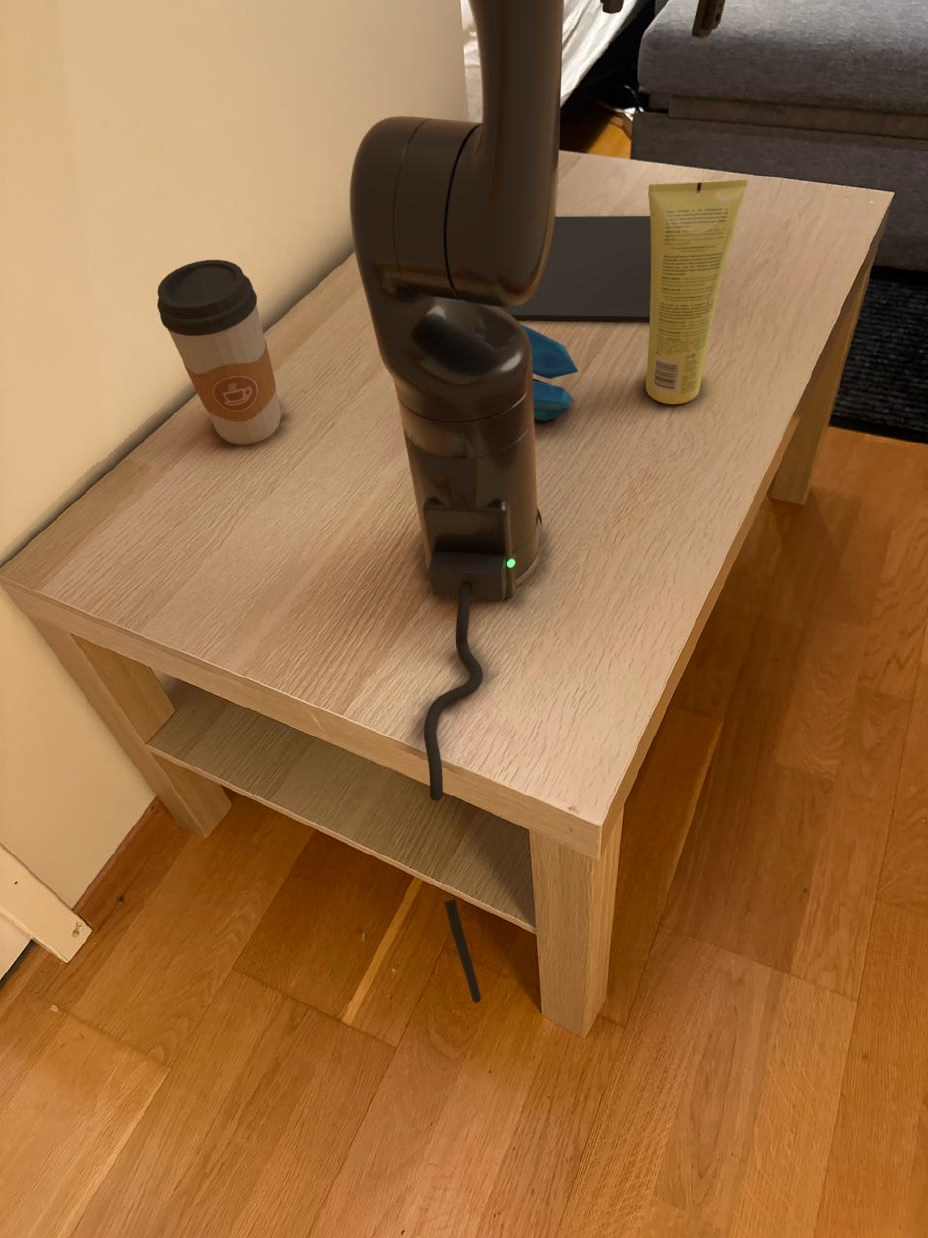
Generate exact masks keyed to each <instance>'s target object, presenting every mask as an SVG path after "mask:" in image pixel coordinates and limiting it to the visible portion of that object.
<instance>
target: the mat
mask: <svg viewBox="0 0 928 1238" xmlns="http://www.w3.org/2000/svg"><path fill="white" fill-rule="evenodd" d="M650 300H651V221H650V215H622V216H621V215H620V216H619V215H614V216H613V215H610V216H608V215H605V216H604V215H603V216H600V215H598V216H593V215H592V216H555V223H554V231H553V238H552V244H551V249H550V253H549V257H548V261H547V265H546V269H545V272H544V275H543V278H542V280H541V282H540V284H539V286H538V288H537V290H536V292H535V293H534V294H533V296H532V297H531V298H530V299H529V300H528V301H527V302H525V303H524V304H522V305H520V306H517V307H498V308H500V309H502V310H503V311H505V312H507V313H508V314H510V315H511V316H512V317H514V318H515V319H516V320H517V321H574V322H575V321H577V322H578V321H579V322H581V321H582V322H583V321H585V322H587V321H588V322H650Z"/></svg>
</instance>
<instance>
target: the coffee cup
mask: <svg viewBox="0 0 928 1238" xmlns="http://www.w3.org/2000/svg"><path fill="white" fill-rule="evenodd" d="M156 292H157V296H158V298H157V305H156V306H157V309H158V313H159V315H160V317H159V318H160V321H161V323H162V326H164V327H165V329H166V330H167V331H168V333H169V335H170V338H171V339H172V341H173V343H174V345H175V347H176V350H177V352H178V354H179V356H180V358H181V360H182V363H183V366H184V368H185V370H186V373H187V374H188V376H189V378H190V380H191V382H192V385H193V387H194V389H195V391H196V393H197V396H198V397H199V399H200V401H201V403H202V405H203V408H204V409H205V410H206V412H207V414H208V416H209V418H210V420H211V423H212V424H213V427H214V429H215V431H216V433H217V434H218V435H219V436H220V437H221V438H223V439H224V440H225V441H227V442H229V443H231V444H235V445H251V444H256V443H258V442H259V443H260V442H262V441H264V440H266V439H268V438H269V437H270V436H271V435H273V434H274V433H275V432H276V431H277V429H278V428H279V425H280V420H281V418H282V410H281V406H280V402H279V401H280V400H279V397H278V393H277V389H276V388H277V385H276V380H275V375H274V371H273V367H272V363H271V357H270V353H269V349H268V344H267V341H266V339H265V335H264V332H263V328H262V327H263V326H262V323H261V318H260V314H259V309H258V306H257V304H258V296H257V294H256V291H255V289H254V287H253V284H252V282H251V280H250V278H249V277H248V276H247V275H245V274H244V272H243V269H242V268H241V267H240V266H239V265H237V264H236V263H234V262H231V261H229V260H223V259H205V260H199V261H195V262H191V263H188V264H185V265H182V266H181V267H178V268H176V269H174V270H173V271H172V272H170V273H168V274H167V275H166V276H165V277H164V278H163V279H162V280H161V281H160V283H159V285H158V286H157V291H156Z"/></svg>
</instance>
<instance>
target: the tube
mask: <svg viewBox="0 0 928 1238" xmlns="http://www.w3.org/2000/svg"><path fill="white" fill-rule="evenodd" d="M747 188H748V178H736V179H734V178H733V179H721V180H720V179H719V180H705V181H704V180H702V181H681V182H659V183H650V184H648V192H647V195H648V207H649V216H650V221H651V300H650V321H649V326H648V327H649V328H648V329H649V331H648V332H649V333H648V347H647V362H646V363H647V365H646V378H645V379H646V380H645V389H646V393H647V395H648V396H649V397H650V398H651V399H653V400H655V401H656V402H659V403H662V404H667V405H678V404H679V405H680V404H685V403H688V402H690V401H692V400H694V399H695V398H696V397H697V396H698V394H699V393H700V387H701V382H702V377H703V371H704V367H705V363H706V362H705V361H706V358H707V357H706V356H707V352H708V346H709V342H710V338H711V337H710V336H711V331H712V326H713V322H714V317H715V312H716V308H717V302H718V298H719V294H720V289H721V285H722V284H721V283H722V280H723V277H724V272H725V268H726V263H727V260H728V256H729V251H730V247H731V243H732V239H733V235H734V231H735V228H736V224H737V220H738V216H739V214H740V213H739V212H740V209H741V206H742V203H743V200H744V197H745V194H746V191H747Z"/></svg>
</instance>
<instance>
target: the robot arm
mask: <svg viewBox="0 0 928 1238" xmlns="http://www.w3.org/2000/svg"><path fill="white" fill-rule="evenodd" d="M467 2H468V5H469V8H470V11H471V16H472V20H473V24H474V29H475V36H476V42H477V49H478V51H477V52H478V57H479V58H478V59H479V68H480V82H481V83H480V84H481V122H477V121H466V120H456V119H455V120H454V119H445V118H429V117H423V116H411V115H409V116H408V115H396V116H389V117H385V118H384V119H380V120H379V121H377V122H375V124H373V125H372V126H371V127H370V128H369V129H368V131H367V132H366V133H365V134H364V136H363V137H362V140H361V141H360V143H359V146H358V148H357V150H356V153H355V156H354V160H353V164H352V168H351V175H350V181H349V182H350V183H349V200H348V201H349V222H350V223H349V224H350V231H351V237H352V243H353V248H354V250H353V251H354V254H355V258H356V264H357V267H358V271H359V276H360V279H361V283H362V287H363V291H364V293H365V294H364V295H365V299H366V303H367V305H368V306H367V307H368V311H369V314H370V318H371V322H372V326H373V330H374V334H375V339H376V342H377V347H378V351H379V355H380V357H381V360H382V362H383V365H384V367H385V369H386V370H387V372H388V373H389V376H391V378H393V382H394V386H395V392H396V397H397V401H398V409H399V412H400V420H401V425H402V430H403V434H404V435H403V437H404V442H405V447H406V453H407V458H408V462H409V469H410V476H411V480H412V487H413V492H414V497H415V503H416V509H417V514H418V520H419V526H420V531H421V535H422V542H423V546H424V547H423V549H424V550H423V551H424V559H425V565H426V567H427V570H428V576H429V582H430V586H431V594H432V596H434V597H447V598H458V599H457V601H458V602H457V609H456V619H455V621H456V622H455V637H454V639H455V647H456V651H457V654H458V656H459V659H460V661H461V662H462V663H463V665H464V666H465V667H466V669H467V670H468V671H469V673H470V674H469V678H468V680H466V682H465V683H464V684H461V685H459V686H457V687H455V688H453V689H450V690H448V691H446V692H444V693H442V694H441V695H439V696H438V697H436V699H435V700H433V702H432V703H431V705H430V707H429V709H428V711H427V713H426V715H425V719H424V723H423V739H424V745H425V750H426V757H427V762H428V771H429V797H430V798H431V800H432V801H435V802H438V801H440V800H441V799H442V797H443V796H444V780H443V779H444V778H443V777H444V776H443V766H442V765H443V764H442V759H441V751H440V747H439V741H438V732H437V729H438V723H439V720H440V717H441V715H442V713H443V711H444V710H445V709H446V707H448V706H449V705H451V704H453V703H456V702H458V701H460V700H462V699H464V698H466V697H468V696H470V695H472V694H473V693H475V692H476V691H477V690H478V689H479V687H481V683H482V681H483V677H484V676H483V675H484V674H483V668H482V667H481V664H480V663H479V661H478V660H477V659H476V657H475V656H474V655H473V654H472V651H471V650H470V646H469V640H468V636H469V621H470V612H471V611H470V610H471V602H472V599H477V600H478V599H479V600H493V601H504V600H505V599H506V598H507V599H512V598H513V597H514V596H515V591H516V588H517V587H519V585H521V584H522V583H524V582H525V581H526V580H527V579H529V577H531V575H532V574H533V573H534V571H535V570H536V568H537V566H538V564H539V561H540V558H541V539H540V534H539V524H540V526H541V527H543V518H542V515H541V514H542V513H541V512H540V509H539V507H538V485H537V484H538V483H537V458H536V433H535V432H536V429H535V419H534V394H533V378H534V374H533V360H532V348H531V343H530V340H529V337H528V335H527V333H526V331H525V329H524V328H523V327H522V325H523V324H522V323H521V322H519V320H516V319H515V318H514V317H512V316H511V315H510V314H508V313H507V312H505V311H503V310H502V309H500V308H498V307H517V306H520V305H522V304H524V303H525V302H527V301H528V300H529V299H530V298H531V297H532V296H533V294H534V293H535V292H536V290H537V288H538V286H539V284H540V282H541V280H542V278H543V275H544V272H545V269H546V265H547V261H548V257H549V253H550V249H551V244H552V238H553V231H554V223H555V217H556V213H557V203H558V185H559V183H558V182H559V164H560V136H561V135H560V131H561V130H560V129H561V104H562V103H561V102H562V101H561V100H562V99H561V98H562V68H563V67H562V66H563V34H564V11H565V0H467ZM599 2H600V4H602V6H601V10H602V12H603V13H605V14H609V15H614V14H618V13H619V14H620V13H621V11H622V10H623V9H624V8H623V7H624V3H625V0H599ZM725 4H726V0H698V2H697V6H696V11H695V15H694V20H693V25H692V29H691V36H692V37H694V38H698V39H704V38H707V37H709V36H710V35H711V34H712V32H713V30H717V29H718V27H719V25H720V23H721V21H722V16H723V13H724V8H725ZM521 324H522V325H521ZM443 904H444V907H445V912H446V915H447V919H448V923H449V926H450V927H449V928H450V929H451V933H452V937H453V940H454V943H455V947H456V950H457V952H458V956H459V959H460V962H461V966H462V969H463V972H464V975H465V979H466V981H467V985H468V989H469V992H470V997H471V1001H472V1002H473V1003H475V1004H477V1003H480V1002H481V1000H482V995H481V992H480V987H479V983H478V980H477V975H476V972H475V967H474V965H473V961H472V958H471V954H470V950H469V948H468V943H467V940H466V936H465V933H464V929H463V925H462V921H461V917H460V913H459V909H458V904H457V899H456V898H453V899H450V900H447V901H444V903H443Z"/></svg>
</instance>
